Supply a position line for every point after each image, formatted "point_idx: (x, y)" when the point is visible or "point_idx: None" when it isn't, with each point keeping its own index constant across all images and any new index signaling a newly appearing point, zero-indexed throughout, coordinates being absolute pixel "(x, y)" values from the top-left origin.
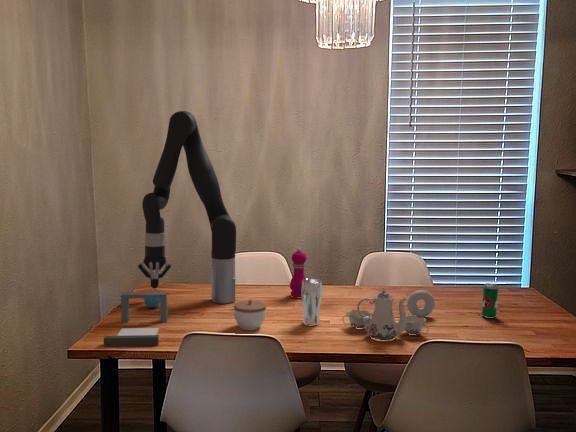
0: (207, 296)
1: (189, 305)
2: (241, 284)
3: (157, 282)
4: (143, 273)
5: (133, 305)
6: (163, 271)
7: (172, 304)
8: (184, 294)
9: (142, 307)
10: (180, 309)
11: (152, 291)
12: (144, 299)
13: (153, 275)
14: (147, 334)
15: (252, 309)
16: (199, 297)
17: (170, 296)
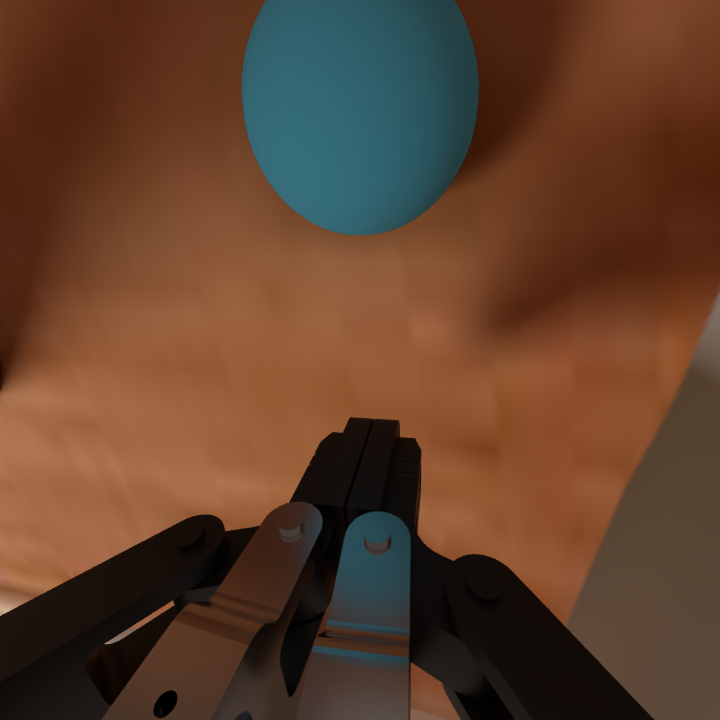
0: (66, 438)
1: (75, 216)
2: (18, 601)
3: (314, 473)
4: (619, 687)
5: (603, 218)
6: (60, 639)
7: (217, 250)
8: (218, 497)
9: (491, 132)
10: (90, 67)
11: (334, 117)
12: (469, 35)
13: (338, 577)
14: None
15: None
16: (101, 422)
17: (297, 468)
